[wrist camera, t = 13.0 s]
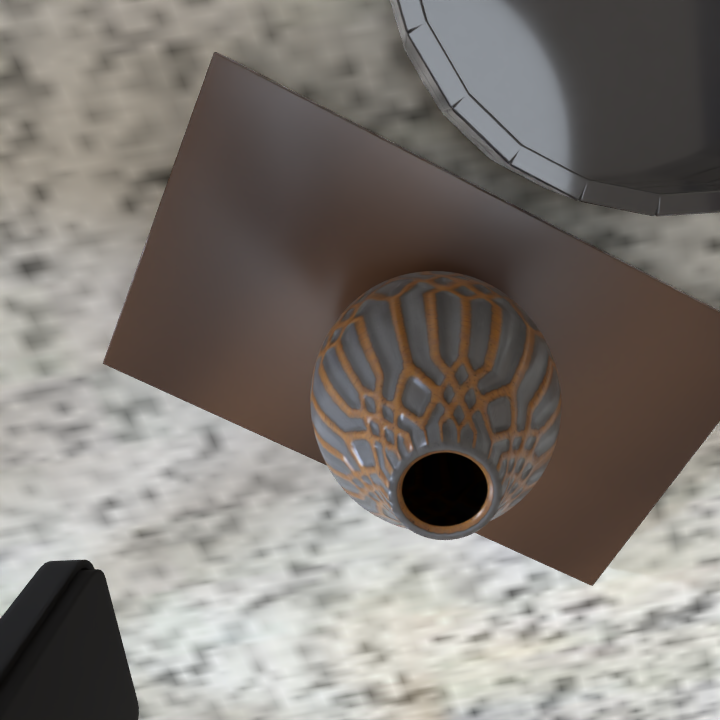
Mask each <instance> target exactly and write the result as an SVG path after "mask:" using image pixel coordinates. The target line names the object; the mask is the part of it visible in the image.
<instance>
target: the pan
mask: <svg viewBox="0 0 720 720" xmlns="http://www.w3.org/2000/svg"><path fill="white" fill-rule="evenodd" d="M390 2H391V6H392V9H393V13H394V17H395V20H396V23H397V26H398V29H399V33H400V36H401V39H402V43H403V46H404V49H405V51H406V54H407V56H408V57H409V59H410V61H411V62H412V64H413V66H414V67H415V69H416V71H417V72H418V74H419V76H420V78H421V80H422V82H423V84H424V85H425V87H426V88H427V90H428V91H429V92H430V94H431V96H432V97H433V99H434V101H435V102H436V104H437V106H438V108H439V109H440V111H441V112H443V115H444V116H445V117H446V118H447V119H448V120H449V121H451V122H452V123H453V124H454V125H455V126H456V127H457V128H458V129H459V130H460V131H461V132H462V133H463V135H464V136H465V137H466V138H468V139H469V140H470V141H471V142H472V143H474V144H475V145H476V146H477V147H478V148H479V149H480V150H481V151H482V152H483V153H484V154H485V155H486V156H487V157H488V158H489V159H492V161H494V162H496V163H498V164H500V165H502V166H503V167H505V168H507V169H509V170H511V171H513V172H515V173H517V174H518V175H521V176H523V177H525V178H527V179H528V180H530V181H532V182H534V183H536V184H538V185H540V186H542V187H544V188H546V189H548V190H551V191H553V192H556V193H559V194H561V195H564V196H567V197H569V198H572V199H575V200H578V201H581V202H585V203H590V204H595V205H600V206H605V207H610V208H615V209H620V210H625V211H630V212H635V213H640V214H645V215H650V216H671V215H687V214H702V213H717V212H720V0H390Z"/></svg>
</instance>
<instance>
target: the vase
mask: <svg viewBox="0 0 720 720" xmlns="http://www.w3.org/2000/svg"><path fill="white" fill-rule="evenodd" d="M310 405H311V417H312V423H313V428H314V432H315V436H316V440H317V443H318V445H319V448H320V451H321V453H322V456H323V458H324V460H325V462H326V464H327V466H328V468H329V469H330V471H331V473H332V474H333V476H334V477H335V479H336V480H337V482H338V483H339V484H340V485H341V487H342V488H343V489H344V490H345V491H346V492H347V494H348V495H349V496H350V497H351V498H352V499H353V500H355V501H356V502H357V503H358V504H359V505H360V506H362V507H363V508H364V509H366V510H367V511H369V512H370V513H372V514H374V515H375V516H377V517H379V518H381V519H383V520H385V521H387V522H389V523H391V524H394V525H397V526H400V527H403V528H407V529H409V530H411V531H413V532H414V533H416V534H419V535H421V536H424V537H427V538H431V539H437V540H452V539H458V538H462V537H465V536H468V535H471V534H473V533H475V532H477V531H478V530H480V529H481V528H483V527H484V526H485V525H486V524H487V523H488V522H489V521H491V520H493V519H495V518H497V517H499V516H501V515H502V514H504V513H505V512H507V511H508V510H510V509H511V508H512V507H514V506H515V505H516V504H517V503H518V502H519V501H521V500H522V499H523V498H524V497H525V496H526V495H527V494H528V493H529V492H530V491H531V489H532V488H533V487H534V486H535V485H536V483H537V482H538V480H539V479H540V477H541V476H542V474H543V472H544V471H545V469H546V467H547V465H548V463H549V461H550V459H551V456H552V454H553V451H554V448H555V445H556V441H557V437H558V433H559V427H560V419H561V386H560V380H559V375H558V371H557V367H556V363H555V361H554V358H553V355H552V353H551V350H550V348H549V346H548V344H547V342H546V340H545V339H544V337H543V335H542V333H541V332H540V330H539V329H538V327H537V326H536V324H535V323H534V322H533V321H532V319H531V318H530V317H529V316H528V315H527V314H526V312H525V311H524V310H523V309H522V308H521V307H520V306H519V305H518V304H517V303H515V302H514V301H513V300H512V299H511V298H509V297H508V296H507V295H505V294H504V293H503V292H501V291H500V290H498V289H497V288H495V287H493V286H491V285H490V284H488V283H486V282H483V281H481V280H479V279H476V278H473V277H470V276H467V275H463V274H459V273H453V272H444V271H424V272H415V273H409V274H405V275H401V276H398V277H395V278H392V279H389V280H387V281H384V282H382V283H380V284H378V285H376V286H374V287H373V288H371V289H369V290H368V291H366V292H365V293H363V294H362V295H361V296H359V297H358V298H357V299H356V300H355V301H353V302H352V303H351V304H350V305H349V306H348V307H347V308H346V309H345V310H344V312H343V313H342V314H341V315H340V316H339V318H338V319H337V321H336V322H335V323H334V325H333V326H332V328H331V329H330V331H329V333H328V334H327V336H326V338H325V340H324V342H323V344H322V347H321V349H320V351H319V354H318V357H317V360H316V363H315V367H314V371H313V376H312V381H311V391H310Z"/></svg>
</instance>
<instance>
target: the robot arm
mask: <svg viewBox="0 0 720 720" xmlns="http://www.w3.org/2000/svg"><path fill="white" fill-rule="evenodd" d="M138 716H139V706H138V701H137V697H136V693H135V689H134V686H133V682H132V678H131V674H130V670H129V666H128V662H127V659H126V655H125V651H124V647H123V643H122V639H121V636H120V632H119V628H118V624H117V620H116V616H115V613H114V609H113V605H112V601H111V597H110V593H109V590H108V586H107V582H106V578H105V575H104V573H103V572H102V571H101V570H98V569H97V570H94V567H93V565H92V564H91V562H90V561H88V560H67V561H49V562H47V563H45V564H44V565H43V566H41V567H40V569H39V570H38V571H37V572H36V574H35V575H34V576H33V578H32V579H31V580H30V581H29V583H28V584H27V585H26V587H25V588H24V589H23V590H22V592H21V593H20V594H19V596H18V597H17V598H16V599H15V601H14V602H13V603H12V605H11V606H10V607H9V608H8V610H7V611H6V612H5V614H4V615H3V616H2V617H1V619H0V720H138Z"/></svg>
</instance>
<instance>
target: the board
mask: <svg viewBox="0 0 720 720" xmlns="http://www.w3.org/2000/svg"><path fill="white" fill-rule="evenodd" d="M424 271H444V272H453V273H459V274H463V275H467V276H470V277H473V278H476V279H479V280H481V281H483V282H486V283H488V284H490V285H491V286H493V287H495V288H497V289H498V290H500V291H501V292H503V293H504V294H505V295H507V296H508V297H509V298H511V299H512V300H513V301H514V302H515V303H517V304H518V305H519V306H520V307H521V308H522V309H523V310H524V311H525V312H526V314H527V315H528V316H529V317H530V318H531V319H532V321H533V322H534V323H535V324H536V326H537V327H538V329H539V330H540V332H541V333H542V335H543V337H544V339H545V340H546V342H547V344H548V346H549V348H550V350H551V353H552V355H553V358H554V361H555V363H556V367H557V371H558V375H559V380H560V386H561V419H560V427H559V433H558V437H557V441H556V445H555V448H554V451H553V454H552V456H551V459H550V461H549V463H548V465H547V467H546V469H545V471H544V472H543V474H542V476H541V477H540V479H539V480H538V482H537V483H536V485H535V486H534V487H533V488H532V489H531V491H530V492H529V493H528V494H527V495H526V496H525V497H524V498H523V499H522V500H521V501H519V502H518V503H517V504H516V505H515V506H514V507H512V508H511V509H510V510H508V511H507V512H505V513H504V514H502V515H501V516H499V517H497V518H495V519H493V520H491V521H489V522H488V523H487V524H486V525H485V526H484V527H483V528H481V529H480V530H478V531H477V532H475V533H477V534H479V535H481V536H483V537H486V538H488V539H490V540H492V541H494V542H497V543H499V544H501V545H503V546H505V547H508V548H510V549H512V550H514V551H516V552H519V553H521V554H523V555H525V556H527V557H530V558H532V559H534V560H536V561H538V562H541V563H543V564H545V565H547V566H549V567H552V568H554V569H556V570H558V571H560V572H563V573H565V574H567V575H569V576H571V577H574V578H576V579H578V580H580V581H582V582H585V583H587V584H589V585H591V586H593V585H594V583H595V582H596V581H597V580H598V578H599V577H600V576H601V574H602V573H603V572H604V570H605V569H606V568H607V567H608V565H609V564H610V563H611V561H612V560H613V559H614V557H615V556H616V555H617V554H618V552H619V551H620V550H621V548H622V547H623V546H624V544H625V543H626V542H627V541H628V539H629V538H630V537H631V535H632V534H633V533H634V532H635V530H636V529H637V528H638V526H639V525H640V524H641V522H642V521H643V520H644V519H645V517H646V516H647V515H648V513H649V512H650V511H651V509H652V508H653V507H654V506H655V504H656V503H657V502H658V500H659V499H660V498H661V496H662V495H663V494H664V493H665V491H666V490H667V489H668V487H669V486H670V485H671V483H672V482H673V481H674V480H675V478H676V477H677V476H678V474H679V473H680V472H681V471H682V469H683V468H684V467H685V465H686V464H687V463H688V461H689V460H690V459H691V458H692V456H693V455H694V454H695V452H696V451H697V450H698V448H699V447H700V446H701V445H702V443H703V442H704V441H705V439H706V438H707V437H708V435H709V434H710V433H711V432H712V430H713V429H714V428H715V426H716V425H717V424H718V423H719V421H720V311H719V310H717V309H715V308H713V307H711V306H709V305H707V304H705V303H703V302H701V301H699V300H697V299H696V298H694V297H692V296H690V295H688V294H686V293H684V292H682V291H680V290H678V289H676V288H674V287H672V286H670V285H668V284H666V283H664V282H663V281H661V280H659V279H657V278H655V277H653V276H651V275H649V274H647V273H645V272H643V271H641V270H639V269H637V268H635V267H633V266H631V265H630V264H628V263H626V262H624V261H622V260H620V259H618V258H616V257H614V256H612V255H610V254H608V253H606V252H604V251H602V250H600V249H598V248H597V247H595V246H593V245H591V244H589V243H587V242H585V241H583V240H581V239H579V238H577V237H575V236H573V235H571V234H569V233H567V232H565V231H564V230H562V229H560V228H558V227H556V226H554V225H552V224H550V223H548V222H546V221H544V220H542V219H540V218H538V217H536V216H534V215H533V214H531V213H529V212H527V211H525V210H523V209H521V208H519V207H517V206H515V205H513V204H511V203H509V202H507V201H505V200H503V199H501V198H500V197H498V196H496V195H494V194H492V193H490V192H488V191H486V190H484V189H482V188H480V187H478V186H476V185H474V184H472V183H470V182H468V181H467V180H465V179H463V178H461V177H459V176H457V175H455V174H453V173H451V172H449V171H447V170H445V169H443V168H441V167H439V166H437V165H435V164H434V163H432V162H430V161H428V160H426V159H424V158H422V157H420V156H418V155H416V154H414V153H412V152H410V151H408V150H406V149H404V148H402V147H401V146H399V145H397V144H395V143H393V142H391V141H389V140H387V139H385V138H383V137H381V136H379V135H377V134H375V133H373V132H371V131H369V130H368V129H366V128H364V127H362V126H360V125H358V124H356V123H354V122H352V121H350V120H348V119H346V118H344V117H342V116H340V115H338V114H336V113H335V112H333V111H331V110H329V109H327V108H325V107H323V106H321V105H319V104H317V103H315V102H313V101H311V100H309V99H307V98H305V97H304V96H302V95H300V94H298V93H296V92H294V91H292V90H290V89H288V88H286V87H284V86H282V85H280V84H278V83H276V82H274V81H272V80H271V79H269V78H267V77H265V76H263V75H261V74H259V73H257V72H255V71H253V70H251V69H249V68H247V67H245V66H243V65H241V64H239V63H238V62H236V61H234V60H232V59H230V58H228V57H226V56H223V55H221V54H219V53H217V52H214V54H213V57H212V59H211V62H210V65H209V68H208V71H207V73H206V76H205V79H204V82H203V85H202V87H201V90H200V93H199V96H198V99H197V101H196V104H195V107H194V110H193V113H192V115H191V118H190V121H189V124H188V127H187V129H186V132H185V135H184V138H183V141H182V143H181V146H180V149H179V152H178V154H177V157H176V160H175V163H174V166H173V168H172V171H171V174H170V177H169V180H168V182H167V185H166V188H165V191H164V194H163V196H162V199H161V202H160V205H159V208H158V210H157V213H156V216H155V219H154V222H153V224H152V227H151V230H150V233H149V236H148V238H147V241H146V244H145V247H144V250H143V252H142V255H141V258H140V261H139V263H138V266H137V269H136V272H135V275H134V277H133V280H132V283H131V286H130V289H129V291H128V294H127V297H126V300H125V303H124V305H123V308H122V311H121V314H120V317H119V319H118V322H117V325H116V328H115V331H114V333H113V336H112V339H111V342H110V345H109V347H108V350H107V353H106V356H105V359H104V361H103V364H105V365H107V366H109V367H112V368H114V369H116V370H118V371H120V372H123V373H125V374H127V375H129V376H131V377H134V378H136V379H138V380H140V381H142V382H145V383H147V384H149V385H151V386H153V387H156V388H158V389H160V390H162V391H164V392H167V393H169V394H171V395H173V396H175V397H178V398H180V399H182V400H184V401H186V402H189V403H191V404H193V405H195V406H197V407H200V408H202V409H204V410H206V411H208V412H211V413H213V414H215V415H217V416H219V417H222V418H224V419H226V420H228V421H230V422H233V423H235V424H237V425H239V426H241V427H244V428H246V429H248V430H250V431H252V432H255V433H257V434H259V435H261V436H263V437H266V438H268V439H270V440H272V441H274V442H277V443H279V444H281V445H283V446H285V447H288V448H290V449H292V450H294V451H296V452H299V453H301V454H303V455H305V456H307V457H310V458H312V459H314V460H316V461H318V462H321V463H323V464H325V465H327V464H326V462H325V460H324V458H323V456H322V453H321V451H320V448H319V445H318V443H317V440H316V436H315V432H314V428H313V423H312V417H311V405H310V391H311V381H312V376H313V371H314V367H315V363H316V360H317V357H318V354H319V351H320V349H321V347H322V344H323V342H324V340H325V338H326V336H327V334H328V333H329V331H330V329H331V328H332V326H333V325H334V323H335V322H336V321H337V319H338V318H339V316H340V315H341V314H342V313H343V312H344V310H345V309H346V308H347V307H348V306H349V305H350V304H351V303H352V302H353V301H355V300H356V299H357V298H358V297H359V296H361V295H362V294H363V293H365V292H366V291H368V290H369V289H371V288H373V287H374V286H376V285H378V284H380V283H382V282H384V281H387V280H389V279H392V278H395V277H398V276H401V275H405V274H409V273H415V272H424Z"/></svg>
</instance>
